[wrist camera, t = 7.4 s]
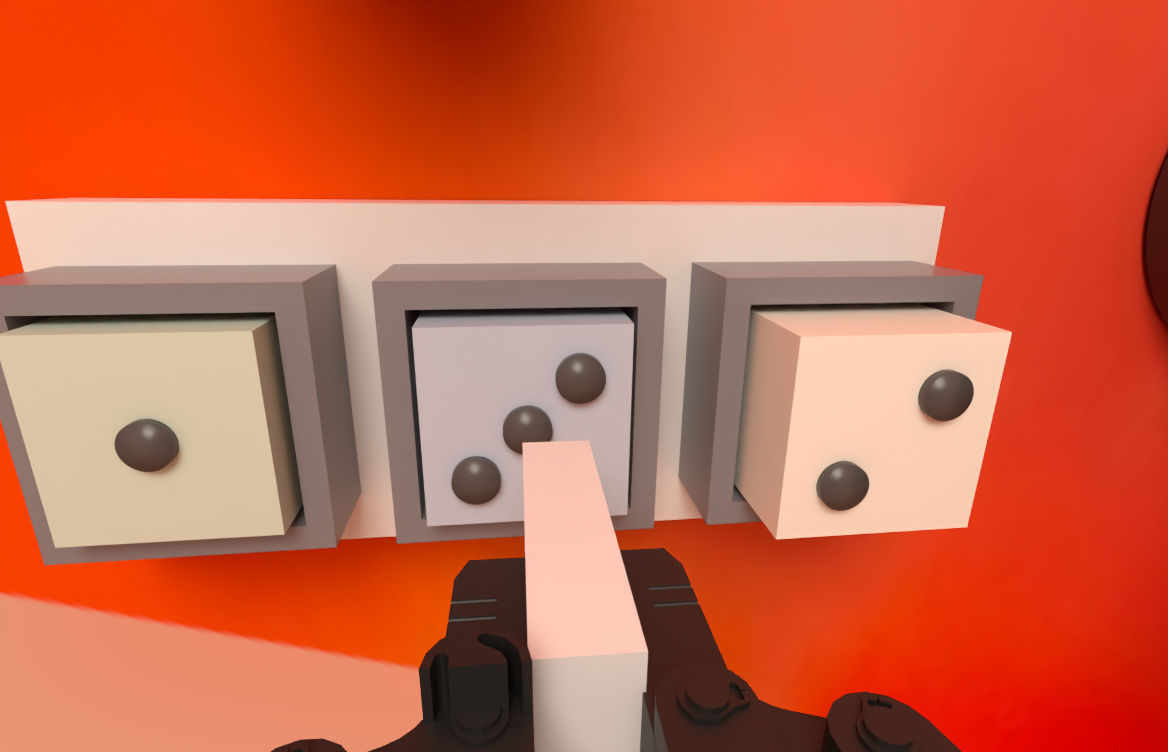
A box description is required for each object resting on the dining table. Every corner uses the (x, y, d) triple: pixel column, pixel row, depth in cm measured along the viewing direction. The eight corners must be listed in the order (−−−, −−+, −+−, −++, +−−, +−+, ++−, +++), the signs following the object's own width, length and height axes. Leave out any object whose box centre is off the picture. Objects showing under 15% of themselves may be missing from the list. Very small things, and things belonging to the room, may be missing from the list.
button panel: (894, 202, 25) (1024, 211, 18) (850, 473, 28) (947, 556, 22) (72, 197, 21) (-107, 207, 15) (146, 510, 25) (28, 621, 18)
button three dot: (610, 297, 21) (636, 326, 17) (606, 458, 23) (628, 520, 19) (429, 299, 20) (410, 330, 16) (440, 466, 22) (426, 531, 18)
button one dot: (300, 301, 20) (247, 333, 16) (322, 471, 21) (280, 540, 17) (95, 303, 19) (-17, 338, 15) (136, 480, 21) (47, 554, 17)
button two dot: (917, 303, 20) (1020, 334, 16) (887, 467, 22) (974, 532, 18) (743, 305, 20) (806, 340, 16) (727, 475, 21) (780, 545, 17)
